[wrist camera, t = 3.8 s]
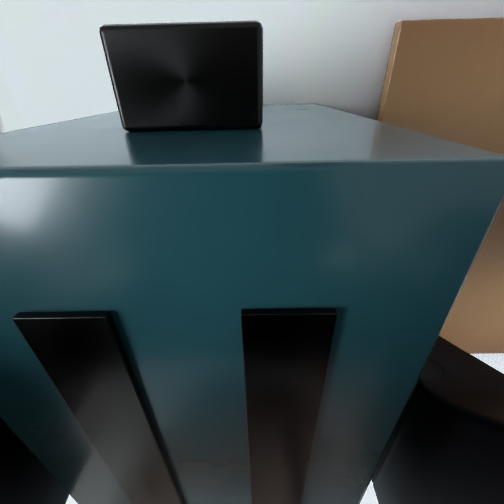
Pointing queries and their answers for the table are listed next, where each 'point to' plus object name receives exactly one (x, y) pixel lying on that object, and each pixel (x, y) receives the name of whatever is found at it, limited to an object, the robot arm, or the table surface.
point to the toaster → (224, 279)
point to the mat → (457, 140)
